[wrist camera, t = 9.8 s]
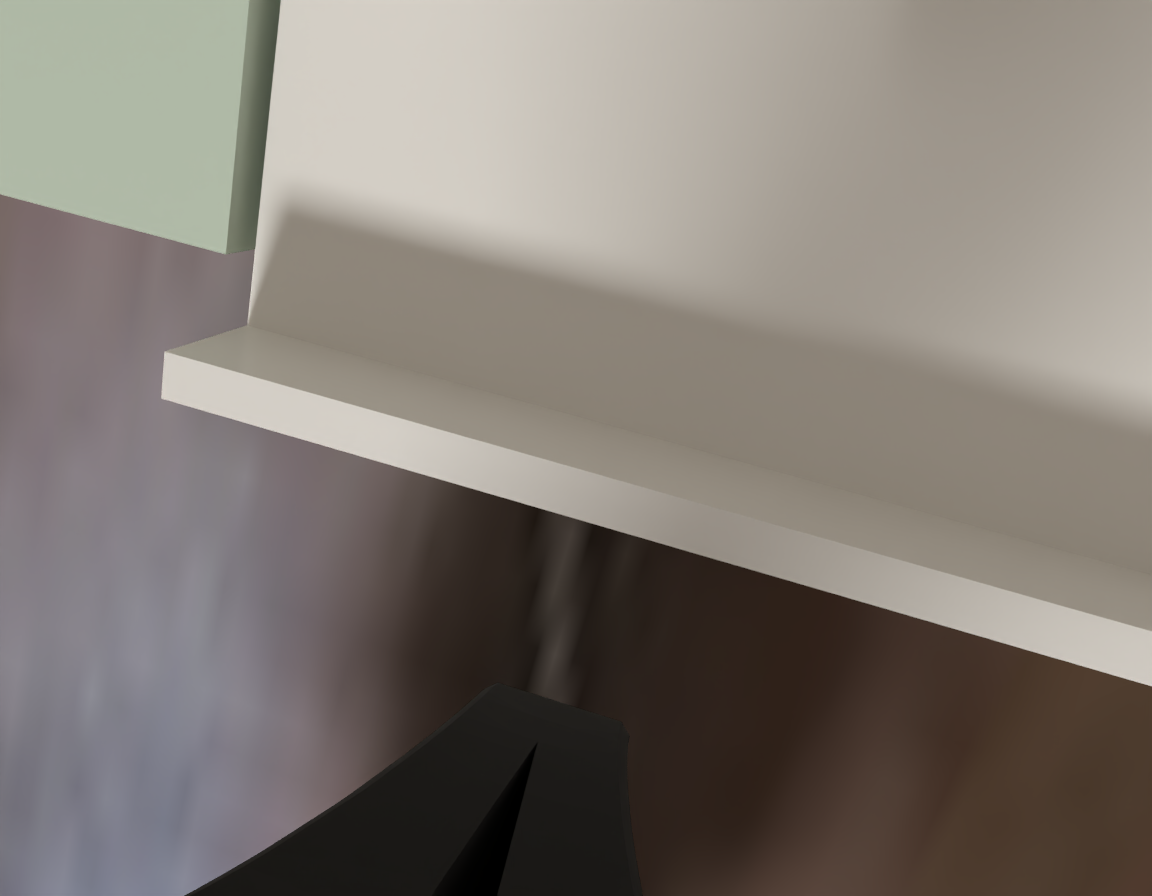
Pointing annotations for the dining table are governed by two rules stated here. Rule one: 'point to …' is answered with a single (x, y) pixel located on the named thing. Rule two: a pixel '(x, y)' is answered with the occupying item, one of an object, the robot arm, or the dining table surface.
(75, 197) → the cover plate
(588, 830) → the robot arm
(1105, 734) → the dining table surface
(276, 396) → the box
